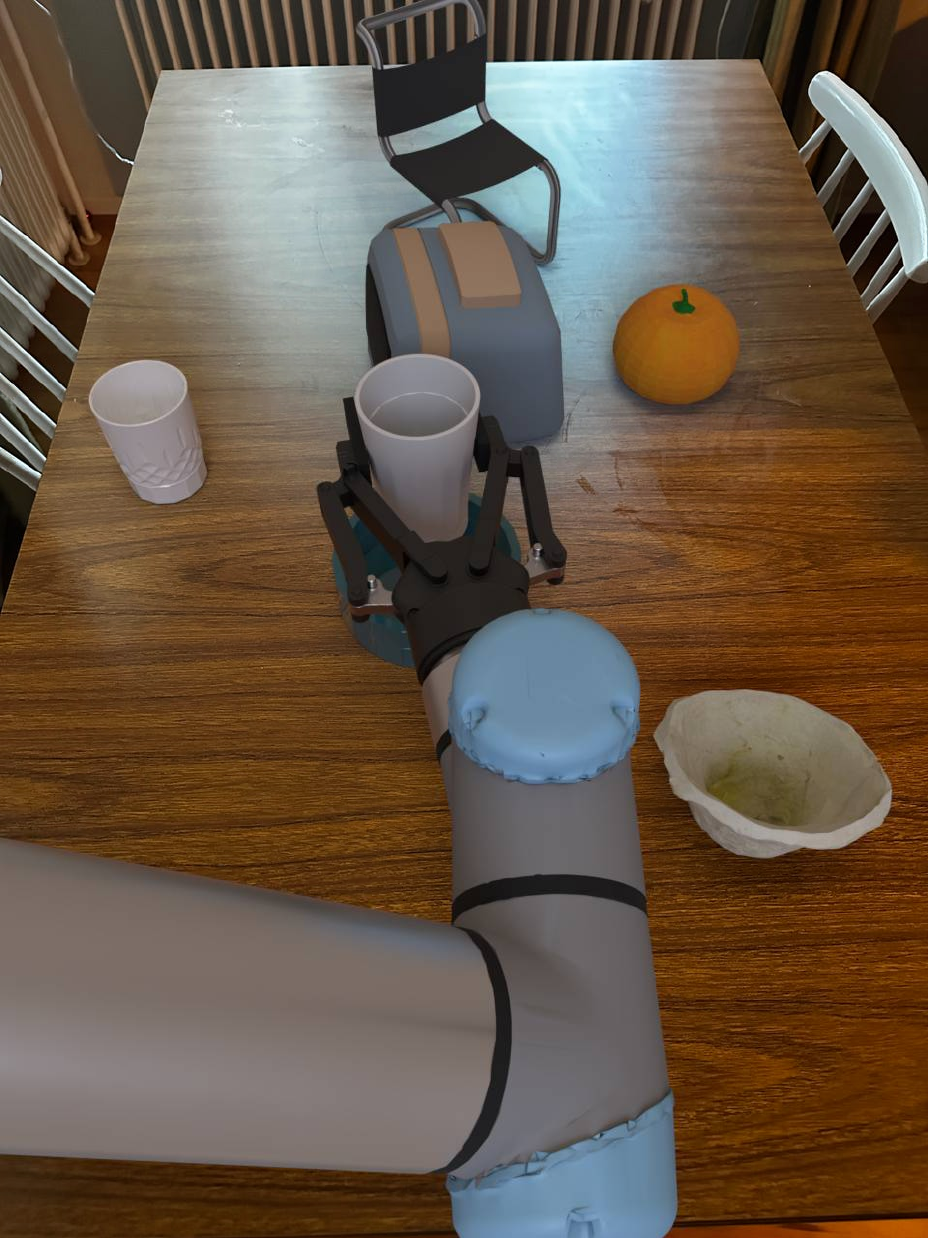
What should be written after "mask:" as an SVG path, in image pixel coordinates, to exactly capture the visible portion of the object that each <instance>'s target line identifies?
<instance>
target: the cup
mask: <svg viewBox="0 0 928 1238" xmlns="http://www.w3.org/2000/svg"><path fill="white" fill-rule="evenodd" d="M354 401H355V406H356V410H357V414H358V418H359V422H360V426H361V430H362V434H363V438H364V443H365V447H366V451H367V455H368V459H369V463H370V471H371V477H372V479H373V480H372V481H373V484H374V489H375V490H376V492H377V493H378V494H379V495H380V496H381V497H382V499H383V500H384V501H385V502H386V503H387V504H388V505H389V507H390V508H391V509H392V510H393V511H394V512H395V514H396V515H397V516H398V517H399V518H400V519H401V520H402V522H403V523H404V524H405V525H406V526H407V527H408V529H409V530H410V531H412V530H414V531H415V532H416V533H417V534H418V535H419V536H420V538H421V539H422V540H423V541H424V542H425V543H428V542H433V541H451V540H453V539H456V538H458V537H460V536H462V535H463V534H464V532H465V530H466V528H467V524H468V497H469V493H470V487H471V477H472V468H473V459H474V456H473V449H474V440H475V436H476V428H477V420H478V412H479V404H480V389H479V386H478V383H477V381H476V379H475V378H474V376H473V375H472V374H471V373H470V372H469V371H468V370H467V369H466V368H465V367H463V366H462V365H460V364H459V363H457V362H455V361H453V360H450V359H448V358H445V357H441V356H437V355H431V354H408V355H402V356H398V357H394V358H391V359H388V360H386V361H384V362H382V363H380V364H378V365H376V366H375V367H373V368H372V367H371V368H370V369H369V370H368V371H367V372H365V374H364V375H363V376H362V377H361V379H360V380H359V381H358V384H357V385H356V389H355V391H354Z"/></svg>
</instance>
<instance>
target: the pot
mask: <svg viewBox="0 0 928 1238" xmlns="http://www.w3.org/2000/svg"><path fill="white" fill-rule="evenodd" d="M481 503H482V497H480V496H479V495H477V494H475V493H471V492H469V497H468V524H467V528H466V530H465V532H464V534H463V535H462V536H466V535H471V534H473V537H474V534H475V529H476V524H477V519H478V518H479V513H480V508H481ZM348 519H349V521H350V524H351V526H352V529H353V531H354V533H355V536H356V538H357V541H358V543H359V545H360V548H361V550H362V553H363V555H364V558H365V560H366V563H367V569H368V575H374V576H375V577H376V578H377V579H379V580H380V581H381V583H382V586H383V588H384V589H385V590H387V591H393V589H394V588H395V586H396V584H397V582H398V581H399V579H400V577H401V576H402V573H401V572H400V570H399V567H398V565H397V563H396V562H395V561H394V560H393V558H392V557H391V556H390V555H389V554H388V552H387V551H386V550H385V549H384V548H383V546H382V545H381V544H380V543H379V542H378V540H377V539H376V538H375V537H374V536H373V534H372V533H371V532H370V531H369V530H368V528H367V527H366V526H365V525H364V524H363V522H362V521H361V520H360V519H359V518H358V516H357V515H356V514H355V513H354V512H353V514H351V515H350V516H349V517H348ZM496 548H498V549H499V550H501V551H502V552H504V553H505V554H507V555H508V556H510V557H511V558H513V559H514V560H516V561H517V562H519V563H520V564H522V547H521V545H520V542H519V538H518V536H517V532H516V530H515V527H514V526H513V525H512V523H511V522H510V521H509V519H507V517H506V516H505V515H504V514H503V513H502V517H501V523H500V529H499V535H498V541H497V547H496ZM331 566H332V572H333V577H334V581H335V587H336V592H337V597H338V603H339V608H340V613H341V618H342V619H343V622H344V624H345V626H346V629H348V631H349V633H350V634H351V635H352V637H353V638H354V639H355V640H356V641H357V642H358V643H359V644H360V646H362V647H363V648H364V649H365V650H366V651H368V652H369V653H371V654H373V655H374V656H376V657H378V658H380V659H382V660H384V661H386V662H388V663H391V664H393V665H394V664H395V665H398V666H400V667H406V668H410V669H415V665H414V661H413V656H412V652H411V648H410V644H409V640H408V635H407V631H406V628H405V627H404V625H403V624H402V623H401V622H400V621H399V620H398V619H397V618H396V617H395V615H394V613H384V614H371V615H370V618H369V619H368V621H366V622H364V623H357V622H355V621H353V619H352V618H351V612H350V608H349V602H348V596H347V578H346V576H345V573H344V571H343V568H342V566H341V563H340V561H339V558H338V556H337V553H336V551H335V548H334V547H333V552H332V557H331Z"/></svg>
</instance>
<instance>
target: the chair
mask: <svg viewBox="0 0 928 1238" xmlns="http://www.w3.org/2000/svg"><path fill="white" fill-rule="evenodd" d="M479 2H480V1H478V0H419V1H417V2H412V3H410V4H409V3H408V4H406V5H403V6H400V7H397V8H394V9H392V10H387V11H384V12H381V13H379V14H375V15H371V16H368V17H365V18H362V19H360V20H359V21H358V22H357V24H356V25H355V32H356V35H357V36H358V37H359V38H360V39H361V40H362V42H363V43H364V46H365V47H366V49H367V51H368V54H369V57H370V61H371V73H372V85H373V98H374V99H373V100H374V111H375V123H376V132H377V133H376V135H377V139H378V143H379V146H380V148H381V149H380V150H381V152H382V153H383V156H384V158H385V159H386V161H387V163H388V164H389V166H390V167H391V169H393V170H394V171H395V172H397V173H398V175H400V176H401V177H402V178H404V179H405V180H406V181H408V183H409V184H411V185H412V186H413V187H414V188H416V190H418V191H419V192H420V193H422V194H423V195H424V196H425V197H426V198H427V199H429V201H431V202H432V204H430V205H427V206H425V207H423V208H422V207H421V208H419V209H417V210H415V211H412V212H409V213H408V214H405V215H403V216H400V217H397V218H395V219H392V220H391V221H389V222H388V223H387V224H385V225H384V227H382V229H381V231H384V230H388V229H390V230H391V229H396V228H405V227H407V226H409V225H412V224H414V223H418V222H419V221H422V220H424V219H427V218H429V217H432V216H434V215H437V214H438V213H441V212H445V214H446V216H447V218H448V220H449V223H461V222H463V220H462V218H461V214H460V212H459V211H458V208H460V209H461V208H462V209H466V210H469V211H472V212H473V213H474V214H475V215H477V216H478V218H480V219H482V220H483V221H491V222H494V223H495V224H496V226H498V225H500V226H505V227H508V225H506V224H505V223H504V222H503V221H502V220H500V218H498V217H496V216H495V215H494V214H493V213H492V212H491V211H489V210H488V209H486V207H484V206H483V205H482V204H480V203H479V202H478V201H476V200H473V199H471V198H467V197H465V196H468V195H471V194H475V193H477V192H481V191H484V190H487V189H489V188H491V187H495V186H497V185H499V184H502V183H504V182H506V181H508V180H511V179H513V178H515V177H517V176H519V175H521V174H523V173H525V172H526V171H529V170H531V169H532V168H534V167H535V168H537V169H538V170H539V171H540V172H543V174H544V176H545V177H546V179H547V182H548V185H549V193H550V194H549V195H550V196H549V206H548V207H549V209H548V219H547V220H548V221H547V235H546V247H545V252H544V254H543V253H541V252H540V251H539V250H537V248H534V246H532V245H531V244H530V243H529V242H527V240H525V239H524V241H525V243H526V245H527V247H528V249H529V251H530V253H531V255H532V257H533V259H534V261H535V264H536V265H541V266H546V265H549V264H551V263H552V261H554V259H555V257H556V253H557V246H558V236H559V233H558V232H559V223H560V212H561V202H562V201H561V199H562V187H561V186H562V185H561V182H560V178H559V175H558V172H557V171H556V168H555V167H554V166H553V164H552V163H551V162H550V160H549V159H548V158H547V157H545V156H544V155H543V154H541V153H540V152H539V151H538V150H536V149H534V148H533V147H532V146H531V145H530V144H528V143H526V142H525V141H524V140H522V139H521V138H520V137H519V136H517V135H516V134H515V133H513V132H511V130H509V129H508V128H507V127H505V126H504V125H502V124H501V123H500V122H499V121H497V120H496V119H495V118H493V117H492V116H491V114H490V112H489V109H488V105H487V102H486V97H487V96H486V95H487V94H486V91H487V89H486V88H487V46H488V45H487V44H488V43H487V41H488V40H487V39H488V31H487V24H486V19H485V15H484V11H483V9H482V6H481V5H480V3H479ZM455 4H463V5H465V6H466V7H467V9H468V10H469V12H470V14H471V16H472V17H471V18H472V20H473V24H474V39H472V40H470V41H469V42H468V41H467V42H466V43H464V44H462V45H460V46H457V47H455V48H453V49H450V50H448V51H446V52H444V53H441V54H438V55H435V56H432V57H430V58H427V59H424V60H420V61H417V62H414V63H410V64H405V65H401V66H396V67H389V68H384V59H383V55H382V51H381V48H380V45H379V43H378V41H377V38H376V37H375V35H374V34H373V31H374V30H377V29H381V28H384V27H386V26H389V25H390V26H391V25H393V24H396V23H399V22H402V21H406V20H408V19H411V18H414V17H418V16H421V15H423V14H427V13H430V12H433V11H437V10H439V9H443V8H446V7H449V6H452V5H455ZM473 107H475V108H476V109H475V110H476V112H477V115H478V117H479V119H480V122H481V123H482V124H480V125H478V126H476V128H473V129H471V130H469V131H467V132H465V133H463V134H461V135H459V136H457V137H454V138H452V139H450V140H447V141H444V142H442V143H439V144H436V145H433V146H430V147H427V148H423V149H419V150H415V151H411V152H405V153H400V154H397V153H396V151H395V150H394V148H393V146H392V142H391V140H390V137H392V136H396V135H400V134H404V133H407V132H409V131H414V130H416V129H420V128H423V127H425V126H429V125H431V124H434V123H436V122H439V121H442V120H445V119H447V118H450V117H452V116H455V115H457V114H459V113H461V112H464V111H466V110H468V109H471V108H473Z"/></svg>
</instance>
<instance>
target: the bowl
mask: <svg viewBox="0 0 928 1238" xmlns="http://www.w3.org/2000/svg"><path fill="white" fill-rule="evenodd" d="M653 739H654V741H655V743H656V745H657V748H658V749H659V751H660V752H661V754H662V756H663V758H664V760H663V763H664V766H665V768H666V770H667V772H668V781H669V786H670V788H671V790H672V792H673V794H674V795H675V796H677V797H678V798H679V799H682V801H687V803H688V806H689V809H690V812H691V814H692V816H693V819H694V820H695V822H696V823H697V825H698V826H699V828H700V829H701V831H703V832H705V833H707V835H708V837H710V839H712V840H713V841H714V842H716V843H717V844H719V845H720V847H722V848H723V849H724V850H727V851H728V852H731V853H733V854H735V855H737V856H746V857H751V858H755V859H756V858H757V859H773V858H775V857H779V856H781V855H784V854H788V853H790V852H794V851H798V850H800V849H803V848H804V849H805V848H806V849H812V850H837V849H840V848H845V847H846V846H848V845H849V844H851V843H853V842H855V841H857V840H859V839H860V838H862V837H863V836H864V835H865V834H867V833H869V832H871V831H872V830H875V829H876V828H878V827H880V826H881V825H882V824H883V823H884V821H885V818H886V817H887V816H888V814H889V812H890V810H891V807H892V806H891V805H892V797H893V786H892V783H891V780H890V778H889V776H888V774H887V773H886V772H885V771H884V769H883V765H882V764H881V763H880V762H878V758H877V757H876V755H875V753H874V752H873V751H872V749H871V748H870V747H869V746H868V744H867V743H866V742H865V741H864V740H863V738H862V737H861V736H860V734H858V733H857V732H856V731H855V729H854V727H853V726H851V725H850V724H849V723H847V722H846V721H844V720H842V719H840V718H839V717H836V716H834V715H833V714H830V713H829V712H827V711H825V710H823V709H821V708H819V707H818V706H815V705H813V704H811V703H809V702H808V701H806V700H804V699H801V698H798V697H796V696H793V695H790V694H786V693H776V692H772V691H764V690H763V691H762V690H753V689H746V688H743V689H729V690H728V689H727V690H724V689H722V690H721V689H720V690H719V689H717V690H716V689H715V690H714V689H713V690H712V689H711V690H705V691H700V692H697V693H694V694H692V695H686V696H683V697H681V698H676V699H673V700H672V701H671V703H670V704H669V705H668V706H667V708H666V711H665V715H664V717H663V719H662V720H661V722H660V723H659V724H658V725H657V727H656V729H655V731H654V732H653Z"/></svg>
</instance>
